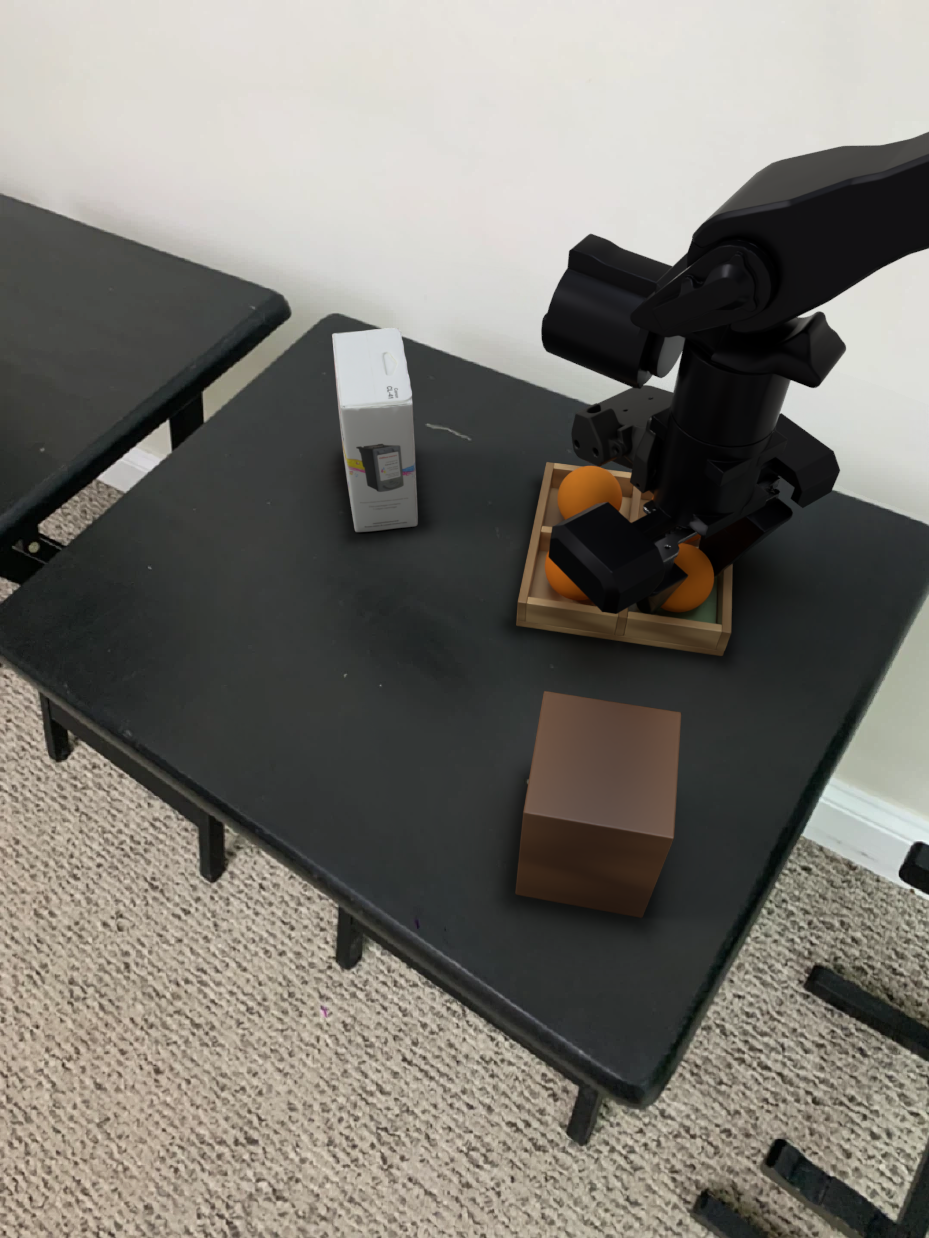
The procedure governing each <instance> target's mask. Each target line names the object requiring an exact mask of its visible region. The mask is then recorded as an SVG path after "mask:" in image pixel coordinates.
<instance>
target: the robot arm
mask: <svg viewBox="0 0 929 1238" xmlns="http://www.w3.org/2000/svg"><path fill="white" fill-rule="evenodd" d="M925 250H929V131H927V132H924V133H922V134H919V135H917V136H914V137H911V138H908V139H907V138H906V139H903V140H898V141H895V142H889V143H885V144H875V145H873V144H872V145H871V144H870V145H841V146H836V147H832V148H827V149H823V150H818V151H814V152H810V153H805V154H801V155H796V156H791V157H788V158H784V159H783V158H782V159H780V160H776V161H774V162H771V163H770V164H768V165H766V166H765V167H763V168H761V169H760V170H758V171H757V172H756V173H755V174H754V175H752V177H750V178H749V179H748V180H747V181H746V182H745V183H743V185H741V187H739V189H738V190H737V191H736V192H735V193H733V194H732V195H731V196H730V197H729V198H728V199H727V200H725V202H724V203H723V204H722V205H721V206H719V207H718V208H717V209H716V210H715V211H714V212H713V213H712V214H711V215H710V216H709V217H707V219H706V220H704V221H703V222H702V223H701V224H700V225H699V226H698V227H697V228H696V230H695V232H693V233H692V236H691V241H690V244H689V247H688V249H687V252H686V253H685V254H684V255H683V256H681V258H680V259H679V260H678V261H676V263H675V264H674V265H670V264H667V263H666V262H661V261H659V260H656V259H653V258H651V257H648V256H645V255H642V254H639V253H637V252H634V251H630V250H628V249H626V248H623V247H621V246H619V245H617V244H616V243H614V242H613V241H611V240H609V239H607V238H604V237H602V236H599V235H596V234H594V233H589V234H587V235H586V236H585V237H584V238H583V239H581V240H580V241H579V242H578V243H577V244H575V245H574V246H573V247H572V248H571V249H569V251H568V257H567V258H568V259H567V268H566V269H565V270H564V272H563V274H562V275H561V278H560V279H559V281H558V282H557V285H556V287H555V290H554V292H553V294H552V297H551V300H550V303H549V304H548V309H547V312H546V313H545V314H544V315H543V317H542V320H541V328H540V331H541V334H540V335H541V337H540V339H541V343H542V348H543V349H544V350H545V352H546V353H549V354H551V355H553V356H556V357H558V358H560V359H563V360H565V361H568V362H570V363H572V364H575V365H578V366H580V367H582V368H584V369H587V370H590V371H592V372H594V373H596V374H599V375H602V376H603V377H607V378H608V379H611V380H613V381H616V382H618V383H621V384H623V385H624V386H625V385H626V386H628V387H629V388H628V389H625V390H623V391H621V392H619V393H617V394H615V395H613V396H610V397H608V398H606V399H604V400H602V401H600V402H596V403H593V404H590V405H589V406H587V407H584V408H583V409H580V410H578V411H576V412H575V414H574V419H573V423H572V427H571V433H570V434H571V436H570V437H571V443H572V449H573V452H574V453H575V455H576V457H577V458H578V459H580V460H582V461H585V462H587V463H590V464H592V465H593V466H597V467H602V466H604V465H606V464H608V463H611V462H612V463H614V464H618V465H619V466H622V467H624V468H627V469H629V470H631V472H630V473H631V478H630V483H631V484H632V485H633V486H635V487H636V488H637V489H638V490H639V491H640V492H641V493H645V492H647V491H650V492H651V493H652V494H653V495H654V497H653V499H652V500H650V501H649V502H647V503H645V504H644V505H643V511H644V512H645V513H646V514H647V515H645V516H643V517H641V518H639V519H638V520H636V521H634V522H632V523H631V522H630V521H629V520H628V519H626V518H625V517H624V516H623V515H622V514H621V513H620V512H619V511H618V510H617V509H616V508H614V507H613V506H612V505H611V504H610V503H609V502H604V503H599V504H595V505H593V506H591V507H590V508H588V509H586V510H584V511H582V512H580V513H578V514H576V515H574V516H572V517H570V518H568V519H566V520H564V521H562V522H560V523H558V524H556V525H554V526H552V531H551V537H550V546H549V556H548V557H549V558H550V559H551V560H552V561H553V562H554V563H555V564H556V565H557V566H558V567H559V568H560V570H561V571H562V572H563V573H564V574H565V575H566V576H567V577H568V578H569V579H570V580H571V581H572V582H573V583H574V584H575V585H576V586H577V587H578V588H579V589H580V590H581V591H582V592H583V593H584V594H585V595H586V596H587V597H588V598H589V599H590V600H591V601H592V602H593V603H594V604H595V605H596V606H597V607H598V608H599V609H600V610H601V611H602V612H605V613H612V614H617V613H619V612H621V611H623V610H624V609H626V608H628V607H630V606H631V605H633V604H635V603H636V604H637V607H638V609H639V610H640V611H641V612H642V613H644V614H651V615H653V614H654V613H655V612H656V611H657V610H658V609H659V608H660V607H661V606H662V605H663V604H664V603H665V602H666V601H667V599H668V598H669V597H670V596H671V595H672V594H673V593H674V592H675V591H676V589H677V588H678V587H679V586H680V585H681V584H682V583H683V582H684V581H685V580H686V579H687V577H688V574H686V573H685V572H684V571H683V570H682V569H681V568H680V567H679V566H678V565H677V564H676V563H674V560H675V558H676V557H677V556H678V554H679V544H681V543H683V542H685V541H686V540H688V539H690V538H692V537H694V536H695V535H697V534H699V535H700V536H701V537H700V542H699V547H698V549H699V550H701V551H702V552H703V553H704V554H705V555H706V556H707V557H708V559H709V560H710V562H711V565H712V567H713V572H714V578H715V577H717V576H718V575H719V574H720V573H722V572H723V571H724V570H725V569H726V568H728V567H729V566H730V565H731V564H733V565H734V563H735V562H737V561H738V560H739V559H740V558H741V557H742V556H744V555H746V554H747V553H748V552H749V551H750V550H751V549H753V548H754V547H755V546H757V545H758V544H759V543H761V542H762V541H763V540H764V539H765V538H767V537H769V535H771V534H772V533H773V532H774V531H776V530H777V529H779V528H780V527H781V526H782V525H784V524H785V523H787V522H789V521H790V520H791V519H792V517H793V515H794V510H793V508H791V507H790V506H789V505H788V504H787V503H786V502H784V500H781V499H780V498H779V497H780V494H781V491H780V489H778V488H777V487H778V486H779V484H780V481H781V479H783V480H784V481H785V482H786V483H788V484H789V485H790V486H792V487H793V491H792V493H791V496H790V500H791V501H793V502H794V503H795V504H796V505H797V506H798V507H800V508H802V509H804V508H806V507H808V506H809V505H812V504H813V503H815V502H816V501H818V500H820V499H822V498H823V497H825V496H827V495H829V494H830V493H832V491H833V489H834V486H835V485H836V482H837V479H838V477H839V475H840V473H841V469H840V465H839V462H838V459H837V457H836V453H835V450H833V449H831V448H830V447H828V445H826V444H824V442H822V441H820V440H819V439H818V438H816V437H815V436H814V435H812V434H811V433H810V432H808V431H807V430H806V429H804V428H803V427H802V426H800V425H798V424H797V422H796V423H795V421H793V420H792V419H790V418H789V417H788V416H786V415H785V414H784V413H781V411H782V407H783V405H784V402H785V400H786V396H787V393H788V390H789V388H790V384H791V382H795V383H797V384H799V385H802V386H805V387H808V388H810V389H816V388H818V387H820V386H821V385H822V383H823V382H824V381H825V379H826V378H827V377H828V375H829V374H830V373H831V371H832V370H833V369H834V368H835V366H836V365H837V363H839V361H840V359H842V357H843V355H844V354H845V353H846V351H847V345H846V343H845V342H844V340H843V339H842V338H841V336H840V335H839V334H838V332H837V331H836V330H835V329H833V328H832V327H831V326H830V324H829V322H828V321H827V317H826V314H825V313H824V312H823V311H819V310H817V311H815V312H814V313H813V314H810V315H809V316H805V317H801V316H802V315H805V314H806V313H808V312H811V311H813V310H815V309H817V308H819V307H821V306H823V305H825V304H826V303H829V302H830V301H832V300H834V299H835V298H836V297H838V296H840V295H841V294H843V293H845V292H847V291H848V290H850V289H851V288H853V287H855V286H856V285H858V284H859V283H861V282H862V281H864V280H865V279H867V278H868V277H870V276H871V275H873V274H874V273H876V272H878V271H879V270H881V269H883V268H885V267H887V266H890V265H891V264H893V263H895V262H897V261H899V260H901V259H903V258H905V257H907V256H910V255H913V254H916V253H919V252H922V251H925ZM679 359H680V360H679ZM678 360H679V363H678V369H677V374H676V378H675V382H674V387H673V392H672V391H670V390H666V389H663V388H660V387H658V386H657V387H656V386H654V385H648V384H647V383H648V382H649V381H650V379H651V378H652V377H653V376H654V377H657V378H658V379H663V378H665V377H666V376H667V375H668V374H669V373H670V372H671V371H672V370H673V368H674V367H675V366H676V364H677V362H678Z"/></svg>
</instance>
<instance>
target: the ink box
mask: <svg viewBox="0 0 929 1238" xmlns="http://www.w3.org/2000/svg"><path fill="white" fill-rule="evenodd" d="M331 336H332V346H333V347H332V349H333V361H334V362H333V363H334V373H335V385H336V395H337V396H336V397H337V406H338V407H337V408H338V418H339V427H340V428H339V429H340V437H341V444H342V452H343V461H344V468H345V476H346V482H347V489H348V496H349V503H350V507H351V508H350V509H351V514H352V515H351V516H352V522H353V528H354V531H355V533H368V532H377V531H386V530H393V529H401V528H402V529H403V528H411V527H412V528H413V527H417V526H418V524H419V515H418V512H419V511H418V491H417V469H416V446H415V429H414V410H413V409H414V408H413V407H414V406H413V391H412V387H411V379H410V375H409V372H408V363H407V357H406V354H405V346H404V341H403V336H402V331H401V330H400V328H399V327H398V328H397V327H385V328H384V327H383V328H376V329H367V330H359V331H358V330H357V331H344V332H333V333H332V334H331Z"/></svg>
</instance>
